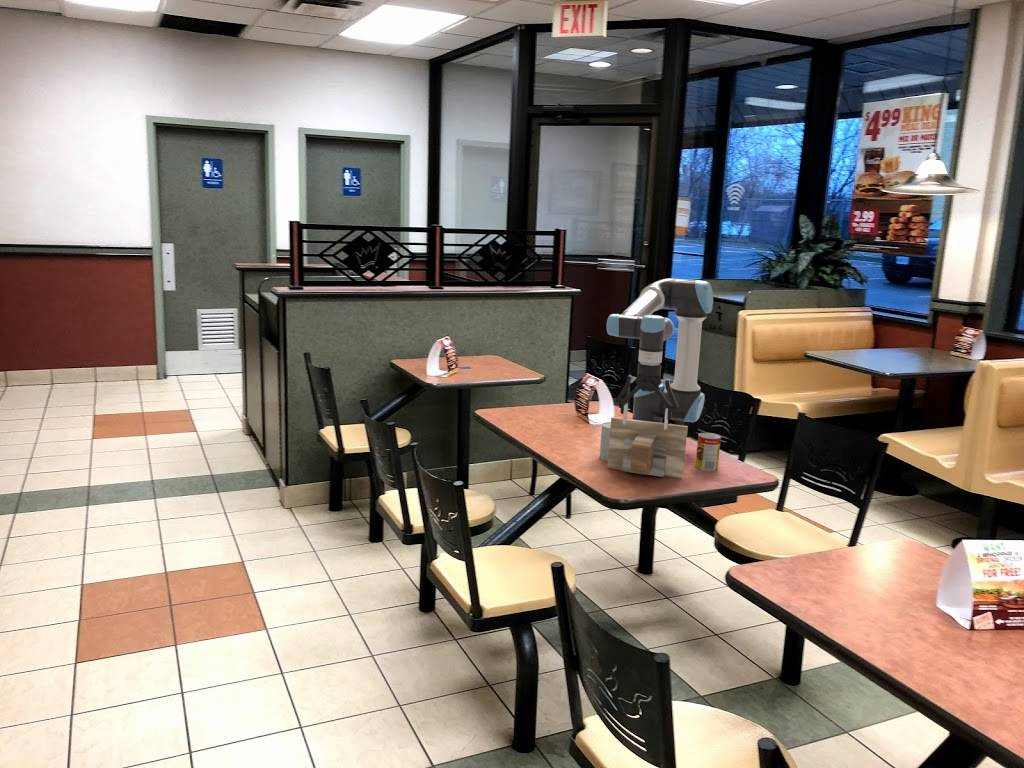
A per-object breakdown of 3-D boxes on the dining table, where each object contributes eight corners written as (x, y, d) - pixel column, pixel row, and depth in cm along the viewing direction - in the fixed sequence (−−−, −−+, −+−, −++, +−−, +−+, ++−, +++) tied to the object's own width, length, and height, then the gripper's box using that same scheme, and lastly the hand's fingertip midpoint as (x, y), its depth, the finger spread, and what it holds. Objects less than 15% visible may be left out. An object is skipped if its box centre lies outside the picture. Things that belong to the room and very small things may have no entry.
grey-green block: (624, 463, 297) (627, 430, 295) (598, 460, 299) (600, 427, 297) (626, 456, 307) (629, 423, 304) (600, 453, 308) (603, 421, 306)
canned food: (712, 464, 301) (715, 432, 299) (721, 471, 294) (724, 438, 291) (691, 464, 300) (694, 432, 297) (700, 471, 292) (703, 438, 290)
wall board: (608, 466, 292) (612, 417, 289) (683, 477, 285) (687, 426, 281) (604, 471, 286) (608, 420, 283) (680, 482, 279) (685, 430, 275)
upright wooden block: (636, 460, 287) (638, 432, 284) (654, 462, 285) (656, 435, 282) (629, 473, 274) (631, 444, 272) (647, 475, 273) (649, 447, 270)
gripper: (609, 361, 270) (605, 424, 275) (687, 369, 263) (681, 433, 268) (614, 357, 277) (610, 418, 282) (689, 364, 270) (684, 427, 275)
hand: (644, 426), depth 275 cm, fingers open, 13 cm apart
